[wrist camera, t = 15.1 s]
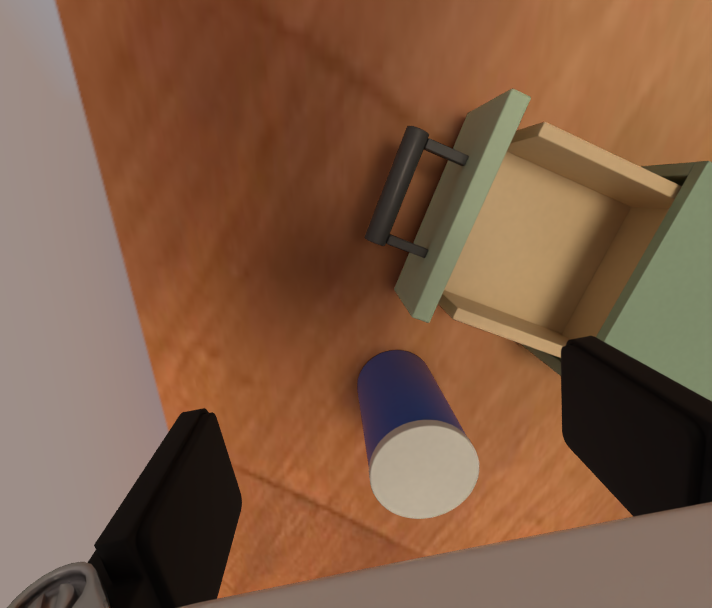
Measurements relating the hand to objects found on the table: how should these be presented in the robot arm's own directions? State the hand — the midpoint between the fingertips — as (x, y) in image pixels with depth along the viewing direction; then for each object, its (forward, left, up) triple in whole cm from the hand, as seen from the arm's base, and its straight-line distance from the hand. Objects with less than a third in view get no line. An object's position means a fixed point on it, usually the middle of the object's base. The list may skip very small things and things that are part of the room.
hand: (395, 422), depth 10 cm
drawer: (+9, +7, -20) cm, 23 cm away
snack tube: (+7, -8, -21) cm, 23 cm away
